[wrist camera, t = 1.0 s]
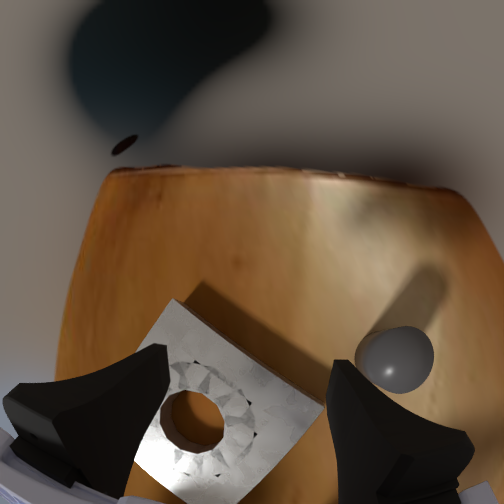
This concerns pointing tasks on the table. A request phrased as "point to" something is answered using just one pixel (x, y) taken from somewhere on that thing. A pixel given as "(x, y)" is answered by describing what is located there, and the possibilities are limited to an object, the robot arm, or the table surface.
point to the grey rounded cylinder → (395, 358)
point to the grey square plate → (231, 407)
